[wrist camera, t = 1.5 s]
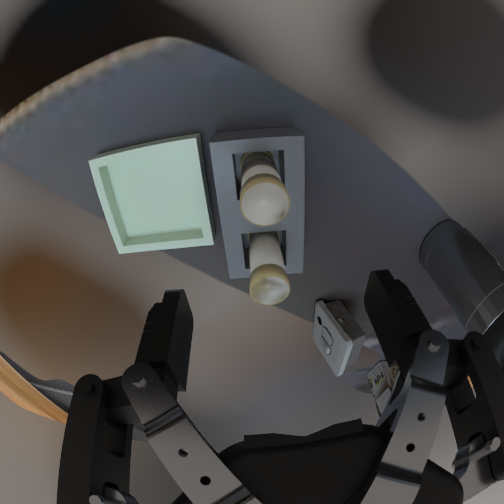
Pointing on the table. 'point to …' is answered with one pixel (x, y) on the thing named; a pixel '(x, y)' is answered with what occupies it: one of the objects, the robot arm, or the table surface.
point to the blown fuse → (262, 189)
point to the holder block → (229, 186)
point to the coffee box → (382, 383)
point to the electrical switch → (337, 335)
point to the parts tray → (155, 194)
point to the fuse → (267, 268)
